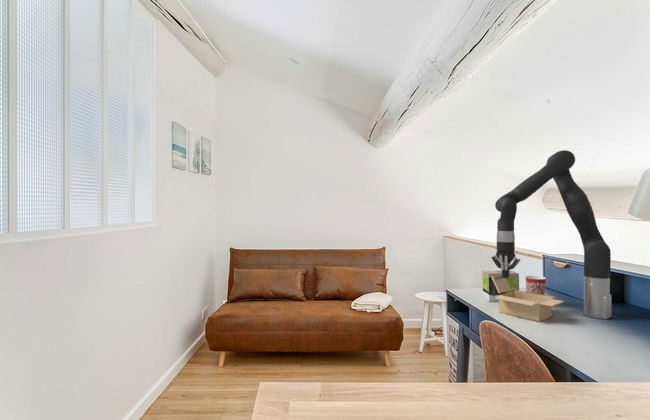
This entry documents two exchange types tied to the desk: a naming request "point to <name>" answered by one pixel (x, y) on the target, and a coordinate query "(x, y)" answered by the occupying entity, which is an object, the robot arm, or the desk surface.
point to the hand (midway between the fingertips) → (505, 277)
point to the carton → (527, 305)
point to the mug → (535, 284)
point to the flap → (501, 283)
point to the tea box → (491, 289)
